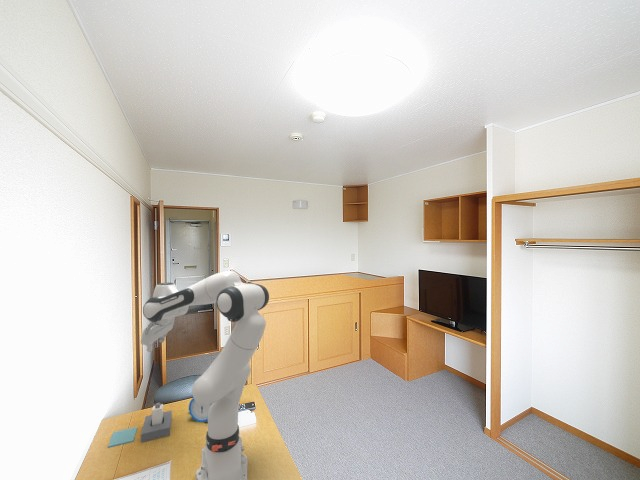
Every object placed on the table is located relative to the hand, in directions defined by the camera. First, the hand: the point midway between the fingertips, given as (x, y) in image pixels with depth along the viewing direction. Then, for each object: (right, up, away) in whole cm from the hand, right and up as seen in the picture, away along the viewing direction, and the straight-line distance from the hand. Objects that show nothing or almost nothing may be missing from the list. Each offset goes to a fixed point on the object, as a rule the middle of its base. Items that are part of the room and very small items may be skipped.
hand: (155, 346), depth 128 cm
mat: (-11, -39, -5) cm, 41 cm away
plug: (0, -39, +1) cm, 39 cm away
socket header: (0, -39, +1) cm, 39 cm away
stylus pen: (+10, -40, +19) cm, 45 cm away
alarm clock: (+18, -40, +9) cm, 44 cm away
